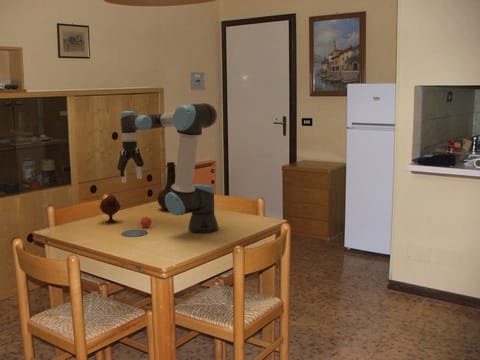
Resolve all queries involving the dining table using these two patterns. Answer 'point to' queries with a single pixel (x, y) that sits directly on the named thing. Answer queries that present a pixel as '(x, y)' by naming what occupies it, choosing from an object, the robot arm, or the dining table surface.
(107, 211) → the ice cream bowl
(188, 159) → the robot arm
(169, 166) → the dark brown vase
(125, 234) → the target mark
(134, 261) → the dining table surface
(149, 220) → the ball
